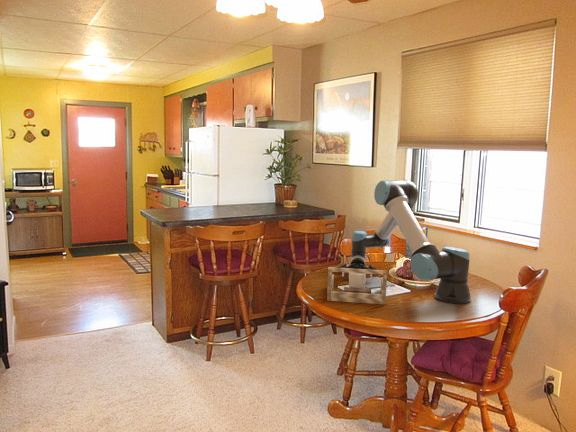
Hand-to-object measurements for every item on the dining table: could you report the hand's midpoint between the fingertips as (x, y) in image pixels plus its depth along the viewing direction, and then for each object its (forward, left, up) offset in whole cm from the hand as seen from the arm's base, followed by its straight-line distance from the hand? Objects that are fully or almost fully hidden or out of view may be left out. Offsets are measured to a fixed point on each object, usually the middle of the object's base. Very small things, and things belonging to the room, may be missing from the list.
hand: (357, 275), depth 229 cm
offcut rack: (-11, +6, -6) cm, 14 cm away
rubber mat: (+3, -11, -6) cm, 13 cm away
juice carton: (+16, -45, -6) cm, 48 cm away
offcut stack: (-16, +9, -6) cm, 19 cm away
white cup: (-9, +5, -6) cm, 12 cm away
